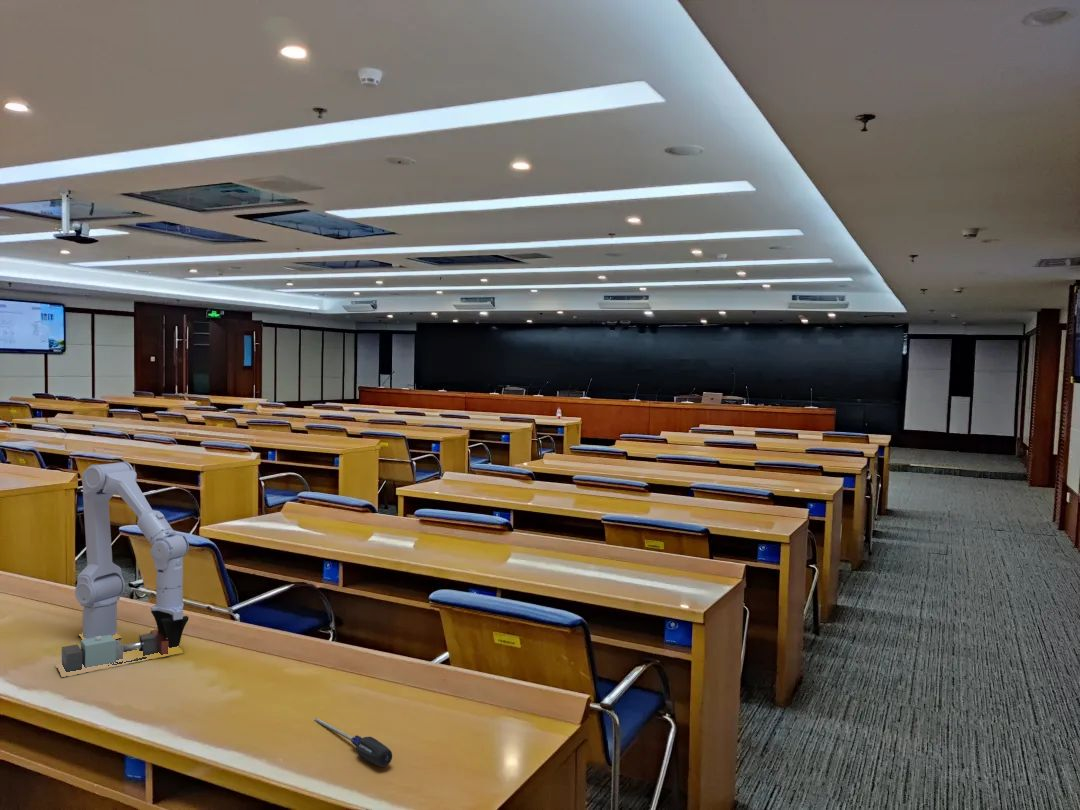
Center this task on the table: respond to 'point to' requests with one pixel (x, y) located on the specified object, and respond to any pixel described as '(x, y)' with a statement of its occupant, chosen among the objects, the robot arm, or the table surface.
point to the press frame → (74, 662)
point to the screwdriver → (366, 747)
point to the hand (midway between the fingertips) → (169, 642)
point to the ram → (162, 645)
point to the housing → (98, 651)
